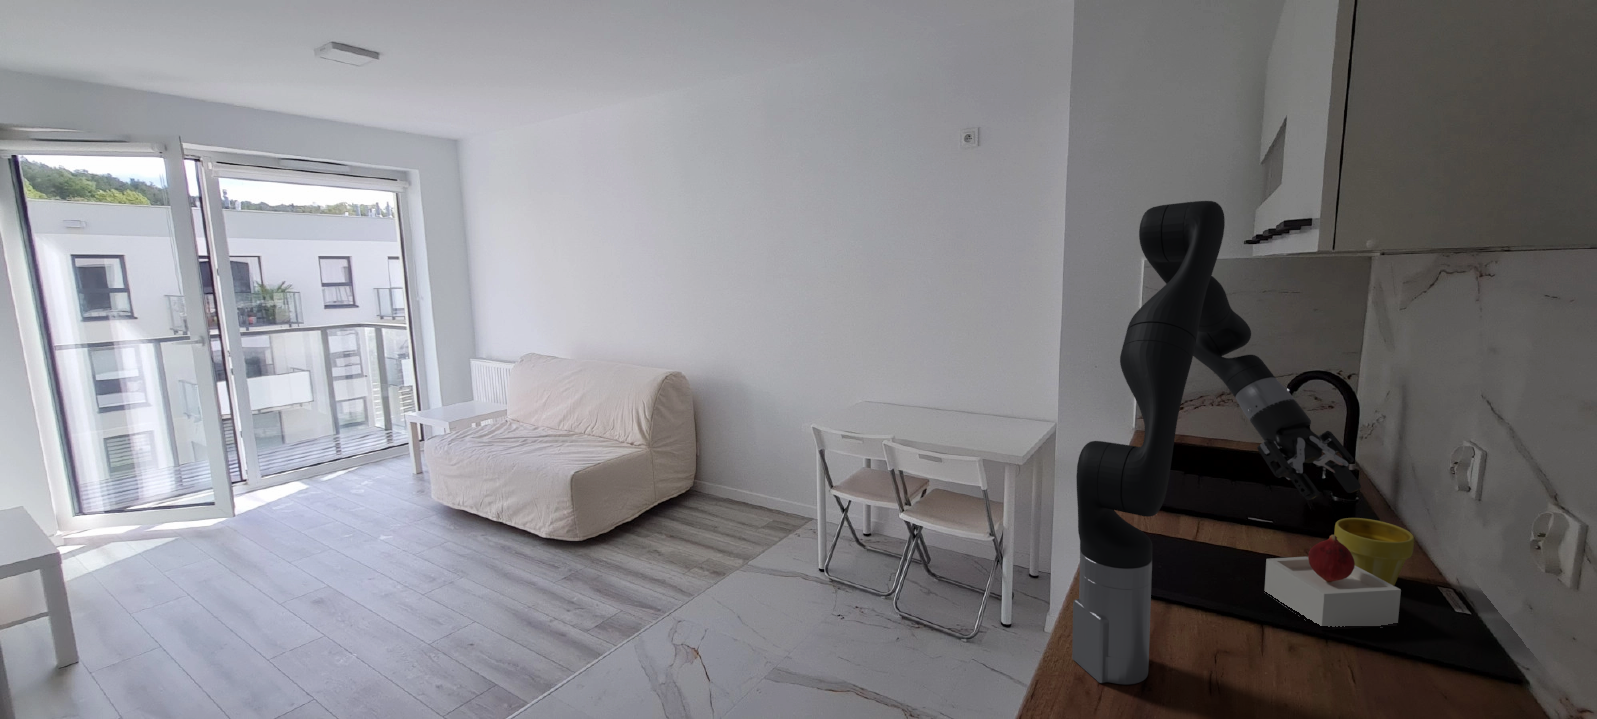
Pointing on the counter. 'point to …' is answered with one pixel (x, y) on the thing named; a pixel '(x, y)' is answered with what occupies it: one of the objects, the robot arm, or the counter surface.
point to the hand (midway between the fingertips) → (1334, 494)
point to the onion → (1331, 560)
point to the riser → (1332, 594)
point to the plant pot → (1376, 546)
